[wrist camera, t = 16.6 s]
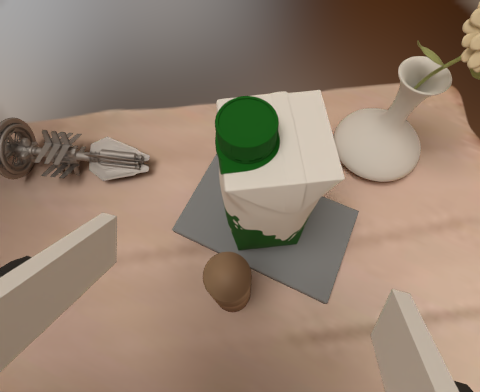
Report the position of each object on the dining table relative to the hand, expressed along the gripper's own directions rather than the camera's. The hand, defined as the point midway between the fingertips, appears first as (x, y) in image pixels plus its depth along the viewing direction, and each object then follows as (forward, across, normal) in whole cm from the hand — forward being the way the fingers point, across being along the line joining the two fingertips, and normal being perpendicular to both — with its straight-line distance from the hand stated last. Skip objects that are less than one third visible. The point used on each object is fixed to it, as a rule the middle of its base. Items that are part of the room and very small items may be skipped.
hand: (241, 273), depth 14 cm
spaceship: (+23, -34, -8) cm, 42 cm away
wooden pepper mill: (+16, -2, -15) cm, 22 cm away
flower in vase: (+32, +13, +1) cm, 35 cm away
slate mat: (+22, 0, -8) cm, 24 cm away
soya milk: (+22, 0, -8) cm, 23 cm away
